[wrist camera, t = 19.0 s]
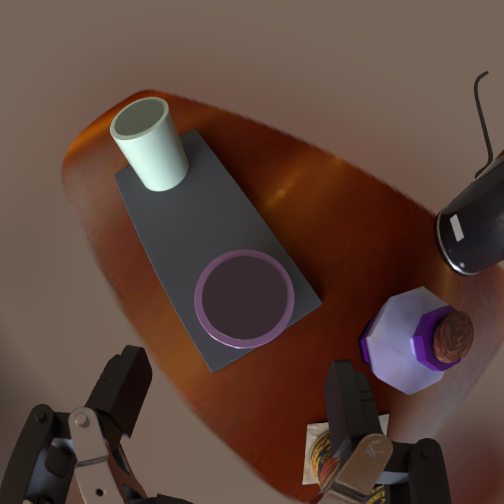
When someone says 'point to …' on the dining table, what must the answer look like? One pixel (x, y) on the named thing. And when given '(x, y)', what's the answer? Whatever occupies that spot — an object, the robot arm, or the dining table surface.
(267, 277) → the purple tumbler
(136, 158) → the celadon tumbler
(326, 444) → the condiment
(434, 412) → the dining table surface
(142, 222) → the placemat
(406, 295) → the potion bottle
